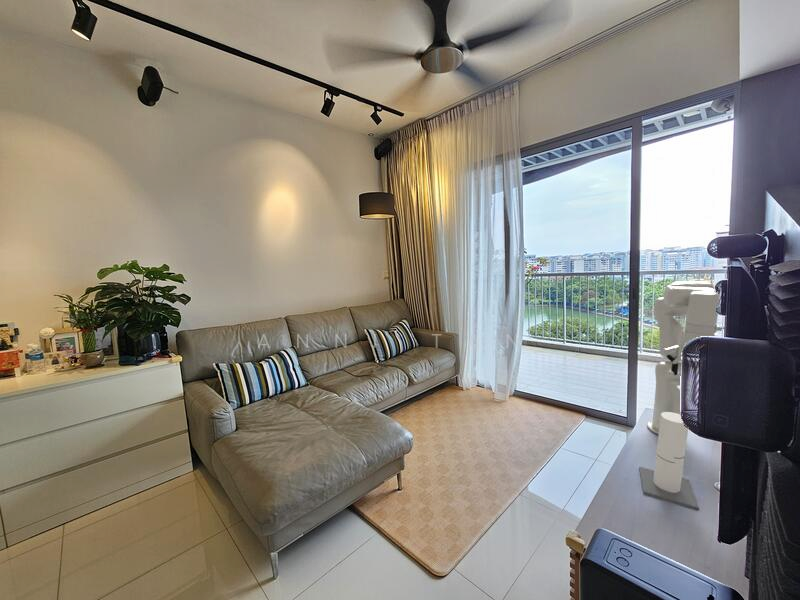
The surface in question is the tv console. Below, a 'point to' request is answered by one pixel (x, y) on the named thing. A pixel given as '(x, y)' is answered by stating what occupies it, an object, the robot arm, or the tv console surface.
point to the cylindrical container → (670, 452)
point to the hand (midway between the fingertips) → (693, 376)
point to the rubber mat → (681, 497)
